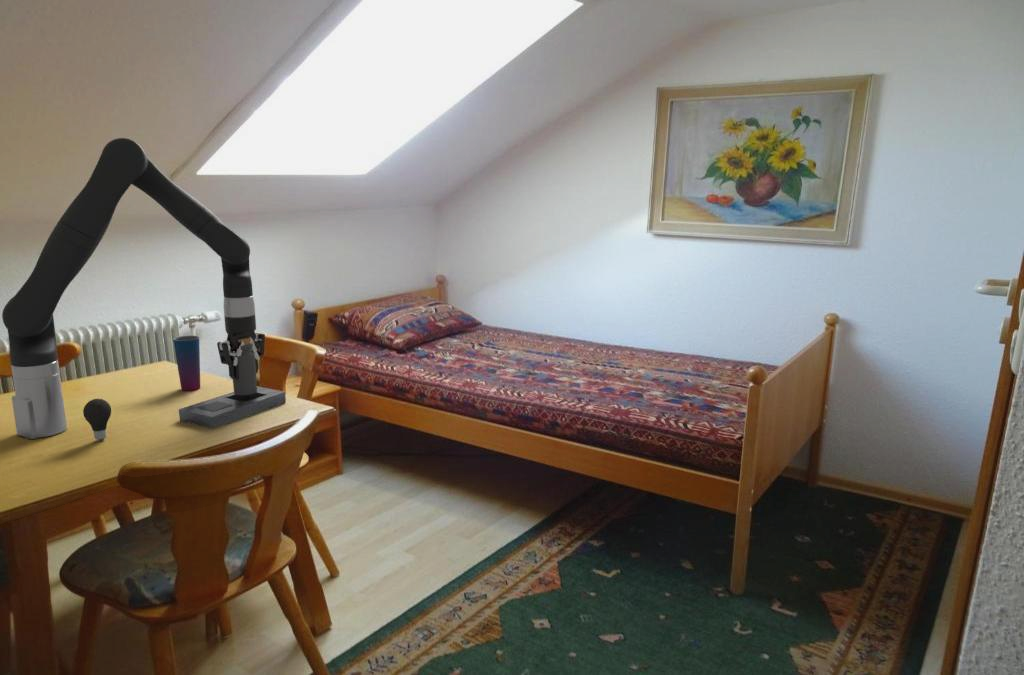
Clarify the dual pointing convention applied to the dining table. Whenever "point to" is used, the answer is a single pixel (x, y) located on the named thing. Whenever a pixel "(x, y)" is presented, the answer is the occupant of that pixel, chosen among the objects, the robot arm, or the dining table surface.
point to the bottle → (245, 370)
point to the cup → (188, 361)
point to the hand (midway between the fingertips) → (244, 375)
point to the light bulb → (97, 416)
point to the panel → (231, 407)
